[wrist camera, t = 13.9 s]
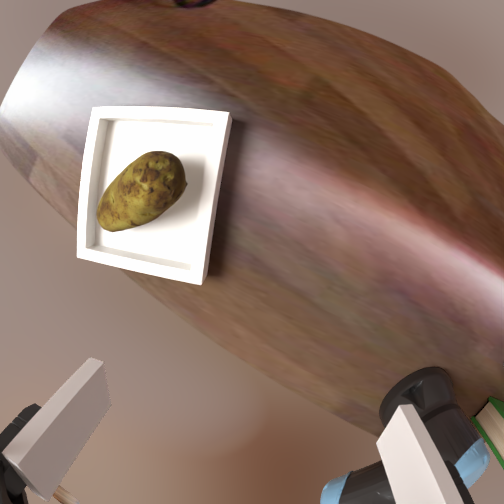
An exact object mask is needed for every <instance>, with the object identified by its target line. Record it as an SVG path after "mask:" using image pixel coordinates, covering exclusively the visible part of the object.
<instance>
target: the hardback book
mask: <svg viewBox="0 0 504 504" xmlns="http://www.w3.org/2000/svg"><path fill="white" fill-rule="evenodd" d="M488 400H489V402H488V404H487V405H486V406H485V407H484V408H483V409H482V411H481V412H480V413H479V414H478V415H477V416H472V417H471V420H472V421H473V423H474V424H475V426H476V427H477V429H478V430H479V432H480V433H481V435H482V436H483V438H484V439H485V441H486V442H487V444H488V445H489V447H490V448H491V450H492V451H493V453H494V454H495V456H496V458H497V459H498V461H499V463H500V464H501V466H502V467H503V469H504V402H502V401H500V400H498V399H495V398H493V397H491V396H490V397H489V398H488Z"/></svg>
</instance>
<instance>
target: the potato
mask: <svg viewBox="0 0 504 504" xmlns="http://www.w3.org/2000/svg"><path fill="white" fill-rule="evenodd" d="M187 185H188V183H187V182H186V175H185V170H184V167H183V165H182V163H181V161H180V159H179V158H178V157H177V156H175V155H174V154H172V153H170V152H166V151H150V152H147V153H144V154H143V155H141V156H140V157H138V158H137V159H136V160H134V161H133V162H131V163H130V164H129V165H128V166H127V167H126V168H124V170H123V171H122V172H121V173H119V174H118V175H117V176H116V177H115V179H114V180H113V181H112V182H111V183H110V185H109V186H108V187H107V189H106V190H105V192H104V194H103V195H102V197H101V199H100V202H99V205H98V207H97V213H96V216H97V220H98V223H99V224H100V226H101V227H102V228H103V229H104V230H106V231H109V232H112V233H113V232H118V231H124V230H127V229H131V228H135V227H138V226H141V225H144V224H147V223H149V222H151V221H153V220H155V219H156V218H158V217H159V216H160V215H162V214H163V213H164V212H165V211H166V210H167V209H168V208H170V207H171V206H172V205H174V204H175V203H176V202H177V201H178V200H179V199H180V197H181V196H182V195H183V193H184V191H185V188H186V186H187Z"/></svg>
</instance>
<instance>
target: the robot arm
mask: <svg viewBox="0 0 504 504" xmlns="http://www.w3.org/2000/svg"><path fill="white" fill-rule="evenodd" d="M110 407H111V401H110V397H109V390H108V385H107V379H106V372H105V366H104V362H102V361H99V360H96V359H94V358H91V357H90V358H89V359H88V360H87V361H86V362H85V363H84V364H83V365H82V366H81V367H80V368H79V369H78V370H77V371H76V372H75V373H74V374H73V375H72V376H71V377H70V378H69V379H68V380H67V381H66V382H65V383H64V384H63V385H62V386H61V388H60V389H59V390H58V391H57V392H56V393H55V394H54V395H53V396H52V397H51V398H50V399H49V400H48V401H47V402H46V404H45V405H44V406H43V407H40V406H38V405H37V404H32V405H30V406H28V407H26V408H25V409H23V410H22V412H21V413H20V414H19V415H18V417H16V418H15V419H14V420H13V421H12V423H10V424H9V425H8V426H7V427H6V428H5V429H4V431H3V432H2V433H1V434H0V504H28V500H27V496H26V492H25V490H24V488H25V487H26V486H28V487H29V488H30V490H31V491H32V492H33V493H35V494H36V495H38V496H39V497H41V498H42V499H44V500H46V501H47V502H48V501H49V500H50V498H51V497H52V495H53V493H54V492H55V490H56V489H57V487H58V485H59V484H60V482H61V481H62V479H63V477H64V476H65V474H66V473H67V471H68V470H69V468H70V467H71V465H72V464H73V462H74V461H75V459H76V457H77V456H78V454H79V453H80V451H81V450H82V448H83V447H84V445H85V444H86V442H87V440H88V439H89V438H90V436H91V434H92V433H93V432H94V430H95V429H96V427H97V426H98V424H99V423H100V421H101V420H102V418H103V417H104V415H105V414H106V413H107V411H108V410H109V408H110ZM379 416H380V419H381V421H382V423H383V426H384V427H385V430H384V432H383V433H382V435H381V436H380V438H379V440H378V441H377V442H376V444H377V447H378V450H379V453H380V456H381V459H382V460H381V461H379V462H376V463H374V464H372V465H369V466H366V467H364V468H361V469H359V470H356V471H351V472H349V473H347V474H346V475H343V476H341V477H338V478H335V479H333V480H331V481H329V482H328V483H327V484H326V485H325V487H324V489H323V492H322V495H321V500H320V504H474V502H473V500H472V498H471V495H470V494H469V492H468V488H469V487H470V486H472V485H473V484H474V483H475V482H476V481H477V479H479V477H480V476H481V475H482V474H483V473H484V471H485V470H486V468H487V466H488V464H489V462H490V454H489V452H488V450H487V448H486V446H485V444H484V440H483V439H482V438H481V437H480V436H479V434H478V433H477V431H476V430H475V428H474V427H473V425H472V424H471V423H470V421H469V420H468V418H467V417H466V415H465V414H464V413H463V411H462V410H461V408H460V407H459V406H458V404H457V400H456V397H455V393H454V390H453V384H452V380H451V378H450V377H449V376H448V374H447V373H446V372H445V371H444V370H443V369H441V368H438V367H429V368H424V369H421V370H419V371H416V372H414V373H412V374H410V375H409V376H407V377H406V378H404V379H403V380H401V381H400V382H399V383H398V384H396V385H395V386H394V387H393V388H392V389H391V390H390V391H389V393H388V394H387V395H386V397H385V398H384V400H383V402H382V404H381V406H380V410H379Z"/></svg>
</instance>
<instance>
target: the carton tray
mask: <svg viewBox="0 0 504 504" xmlns="http://www.w3.org/2000/svg"><path fill="white" fill-rule="evenodd" d="M231 124H232V117H231V115H230V113H229V112H222V111H212V110H202V109H190V108H174V107H148V106H116V107H93V109H92V114H91V118H90V123H89V128H88V134H87V139H86V145H85V152H84V159H83V166H82V174H81V183H80V194H79V207H78V226H77V257H78V258H82V259H87V260H90V261H95V262H99V263H103V264H107V265H111V266H115V267H119V268H124V269H128V270H132V271H137V272H141V273H146V274H150V275H155V276H160V277H164V278H169V279H174V280H179V281H183V282H188V283H193V284H198V285H202V283H203V282H204V280H205V278H206V276H207V272H208V264H209V257H210V250H211V243H212V236H213V229H214V223H215V216H216V210H217V203H218V197H219V191H220V185H221V179H222V173H223V168H224V162H225V156H226V151H227V145H228V140H229V134H230V129H231ZM150 151H166V152H170V153H172V154H174V155H175V156H177V157H178V158H179V159H180V161H181V163H182V165H183V167H184V170H185V175H186V182H187V183H188V185H187V186H186V188H185V191H184V193H183V195H182V196H181V197H180V199H179V200H178V201H177V202H176V203H175V204H174V205H172V206H171V207H170V208H168V209H167V210H166V211H165V212H164V213H163V214H162V215H160V216H159V217H158V218H156V219H155V220H153V221H151V222H149V223H147V224H144V225H141V226H138V227H135V228H131V229H127V230H124V231H118V232H113V233H112V232H109V231H106V230H104V229H103V228H102V227H101V226H100V224H99V223H98V220H97V216H96V213H97V207H98V205H99V202H100V199H101V197H102V195H103V194H104V192H105V190H106V189H107V187H108V186H109V185H110V183H111V182H112V181H113V180H114V179H115V177H116V176H117V175H118V174H119V173H121V172H122V171H123V170H124V168H126V167H127V166H128V165H129V164H130V163H131V162H133V161H134V160H136V159H137V158H138V157H140V156H141V155H143V154H144V153H147V152H150Z"/></svg>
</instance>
